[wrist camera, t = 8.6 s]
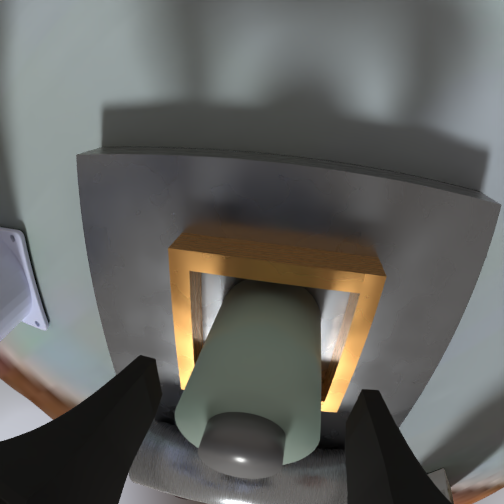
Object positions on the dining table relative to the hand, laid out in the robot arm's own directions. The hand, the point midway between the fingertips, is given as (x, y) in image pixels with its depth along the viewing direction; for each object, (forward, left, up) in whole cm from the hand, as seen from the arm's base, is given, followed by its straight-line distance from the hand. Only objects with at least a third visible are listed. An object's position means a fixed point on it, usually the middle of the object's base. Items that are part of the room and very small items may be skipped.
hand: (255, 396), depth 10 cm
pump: (0, 0, -4) cm, 4 cm away
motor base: (0, -4, -6) cm, 7 cm away
